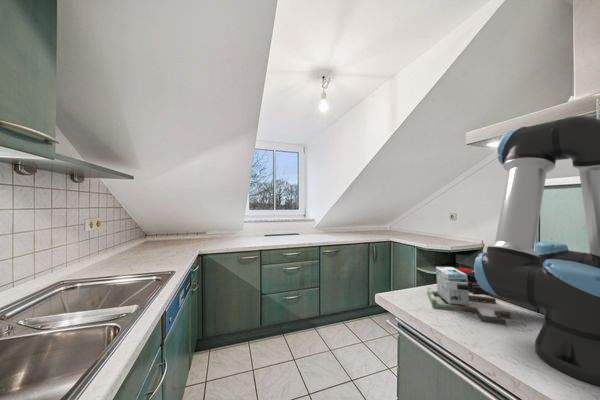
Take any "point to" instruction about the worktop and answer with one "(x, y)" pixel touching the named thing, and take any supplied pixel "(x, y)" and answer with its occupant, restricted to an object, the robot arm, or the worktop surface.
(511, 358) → the worktop surface
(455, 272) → the light bulb box
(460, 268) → the fruit
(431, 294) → the trap lane
